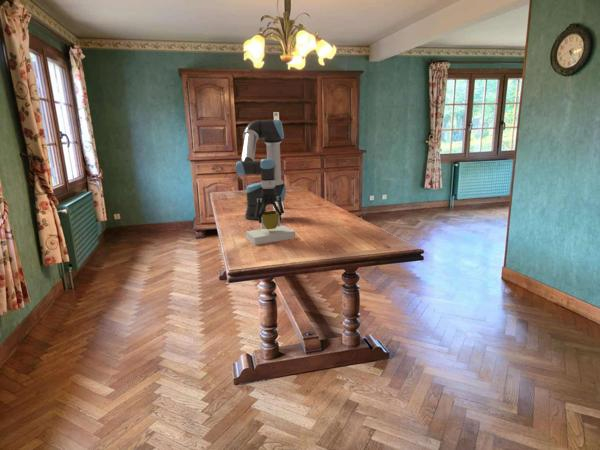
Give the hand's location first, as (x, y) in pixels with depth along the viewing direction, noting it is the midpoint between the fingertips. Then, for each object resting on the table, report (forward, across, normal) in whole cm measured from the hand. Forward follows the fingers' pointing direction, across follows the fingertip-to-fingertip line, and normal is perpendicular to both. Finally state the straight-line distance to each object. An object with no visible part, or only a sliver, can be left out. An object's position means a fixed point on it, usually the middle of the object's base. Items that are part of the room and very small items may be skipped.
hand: (270, 227), depth 216 cm
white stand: (+6, 0, 0) cm, 6 cm away
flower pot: (+1, 0, 0) cm, 1 cm away
